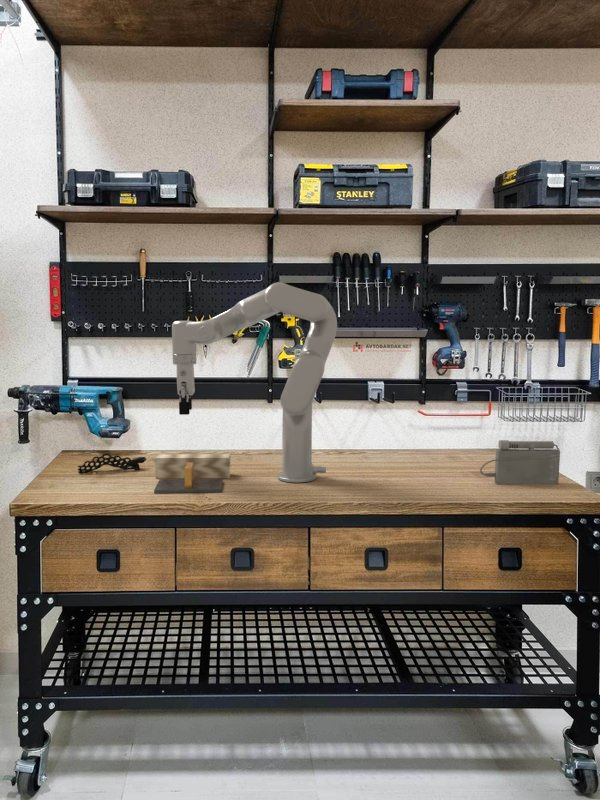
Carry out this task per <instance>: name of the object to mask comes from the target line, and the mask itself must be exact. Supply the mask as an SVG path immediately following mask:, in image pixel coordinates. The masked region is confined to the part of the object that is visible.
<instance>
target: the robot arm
mask: <svg viewBox="0 0 600 800" xmlns="http://www.w3.org/2000/svg"><path fill="white" fill-rule="evenodd" d="M279 313H282V314H283V313H284V314H287V315H289V316H293V317H296V318H299V319H302V320H305V321H309V322H310V324H309V325H310V326H309V330H308V333H307V335H306V338H305V342H304V344H303V345H302V349H301V351H300V353H299V355H298V356H297V357H296V359H295V361H294V363H293V366H292V368H291V370H290V372H289V376H288V377H287V379H286V383H285V385H284V388H283V390H282V391H281V395H280V405H281V407H282V424H281V425H282V427H281V428H282V430H281V431H282V435H281V437H282V439H281V441H282V443H281V444H282V445H281V446H282V447H281V448H282V449H281V450H282V455H281V456H282V460H281V462H282V471H281V472H279V473H278V474H277V479H278V480H280V481H282V482H287V483H307V482H312V481H315V480H316V479H317V473H318V474H319V473H320V474H326V473H327V470H326V469H327V468H326V466H321V465H319V466H318V465H317V466H315V465H313V462H312V457H313V456H312V455H313V453H312V452H313V451H312V450H313V448H312V447H313V446H312V445H313V444H312V441H313V439H312V437H313V436H312V435H313V433H312V431H313V400H314V397H315V396H316V394H317V393H316V392H317V390H318V388H319V385H320V383H321V381H322V378H323V376H324V373H325V366H326V363H327V360H328V357H329V355H330V352H331V349H332V347H333V344H334V341H335V338H336V335H337V331H338V330H337V329H338V319H337V315H336V312H335V310H334V308H333V306H332V305H331V304H330V302H329V301H328V299H327V298H326V297H325V296H324V295H322V294H318V293H315V292H312V291H308V290H305V289H302V288H298V287H295V286H293V285H289V284H287V283H284V282H280V281H279V282H277V281H276V282H274V283H271V284H270V285H269V286H268V287H266V288H264V289H262V290H260V291H259V292H256V293H255V294H252V295H250V296H248V297H246V298H244V299H242V300H240V301H238V302H237V303H236V304H235V305H234V306H233V307H231V308H230V309H228V310H227V311H224V312H222V313H220V314H217V315H216V316H214V317H212V318H210V319H205V320H201V321H199V320H198V321H192V320H175V321H174V322H172V324H171V339H172V340H171V343H172V345H171V346H172V365H175V366H176V388H177V389H176V390H177V395H179V399H178V400H179V401H178V413H179V415H180V416H181V415H185V416H188V415H190V413H191V410H193V401H192V396H193V395H194V393H195V391H196V388H195V370H194V369H195V368H194V365H196V364H197V344H200V345H210V344H213V343H216V342H218V341H220V340H223V339H224V338H226V337H228V336H231V335H232V334H234V333H237V332H238V331H240V330H244V329H245V328H249V327H251V326H253V325H256V324H257V323H260V322H261V321H264V320H266V319H268V318H270V317H273V316H275V315H276V314H279Z"/></svg>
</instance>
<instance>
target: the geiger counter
mask: <svg viewBox="0 0 600 800" xmlns="http://www.w3.org/2000/svg"><path fill="white" fill-rule="evenodd" d="M497 446H498V448H496V449H495V459H490V460H489V461H487V462H485V463H484V464H482V466H481V467H480V469H479V472H480V474H481V475H483V476H485V477H489V478H491V477H492V478H493V477H494V483H495V484H496V485H559V481H560V480H559V479H560V478H559V477H560V459H561V450H560V448H559V447H558V445H557V444H556V443H554V441H552V440H547V441H545V440H543V441H539V440H536V441H535V440H528V441H527V440H522V441H521V440H520V441H519V440H517V441H515V440H511V441H510V440H508V439H500V440H498V444H497ZM492 462H494V463H495V465H494V472H486V473H485V472H484V473H483V471H482V469H484V467H485V466H486V465H488V464H490V463H492Z"/></svg>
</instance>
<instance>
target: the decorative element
mask: <svg viewBox="0 0 600 800" xmlns="http://www.w3.org/2000/svg"><path fill="white" fill-rule="evenodd" d="M106 456H108V457H106ZM117 458H118V459H117ZM95 459H96V461H95ZM101 459H102V460H101ZM146 461H147V458H146V457H145V456H139V457H137V458H133V459H131V458H130V457H124V458H122V457H121V456H119V455H115V456H113V455H112V454H110V453H104V454H102V455H100V456H94V457H93V458H92V459H91V460H85V461H84V463H83V464H82V465H78V466H77V472H78V474H87V473H91V472H93V471H96V470H99V469H100V468H101V467H103V466H110V467H112V468H118V469H122V470H134V471H140V469H141V468H140V464H143V463H145V462H146ZM86 464H87V465H86ZM91 464H92V465H91Z"/></svg>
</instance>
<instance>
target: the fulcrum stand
mask: <svg viewBox="0 0 600 800" xmlns="http://www.w3.org/2000/svg"><path fill="white" fill-rule="evenodd" d="M223 483H224V478H194V462H187V464H186V466H185V478H174V479H159V480H158V482H157V484H156V486H155V488H154V490H153V494H188V493H189V494H191V493H192V494H195V493H198V494H201V493H221V492H222V489H223Z"/></svg>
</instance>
